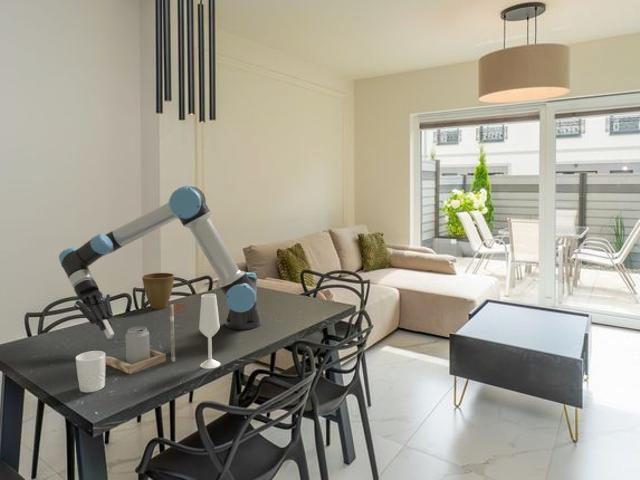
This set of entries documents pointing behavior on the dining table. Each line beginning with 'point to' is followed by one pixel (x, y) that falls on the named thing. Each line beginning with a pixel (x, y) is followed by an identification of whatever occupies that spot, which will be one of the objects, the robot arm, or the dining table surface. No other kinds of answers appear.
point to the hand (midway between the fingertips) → (111, 336)
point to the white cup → (91, 371)
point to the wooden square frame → (154, 355)
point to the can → (137, 345)
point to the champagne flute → (209, 325)
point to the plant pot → (158, 289)
